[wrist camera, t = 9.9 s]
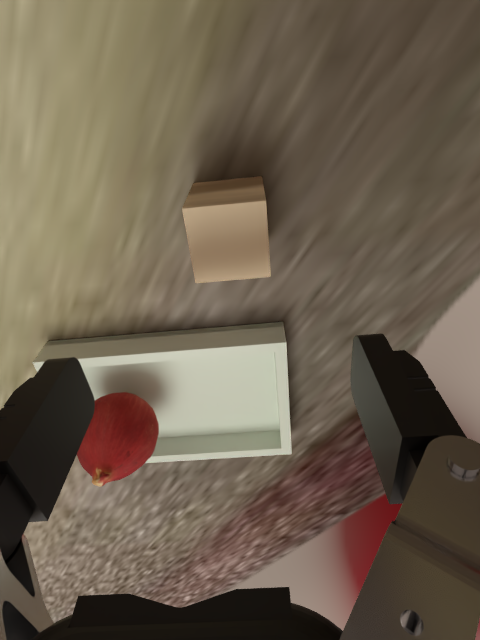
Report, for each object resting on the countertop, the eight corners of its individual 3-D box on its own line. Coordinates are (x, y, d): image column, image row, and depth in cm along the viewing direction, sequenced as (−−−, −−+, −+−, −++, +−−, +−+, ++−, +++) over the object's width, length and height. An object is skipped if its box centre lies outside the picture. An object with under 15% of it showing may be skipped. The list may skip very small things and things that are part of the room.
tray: (47, 341, 29) (32, 362, 27) (282, 321, 28) (286, 342, 25) (95, 442, 35) (86, 466, 33) (288, 430, 34) (291, 454, 32)
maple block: (193, 182, 22) (181, 208, 18) (261, 175, 22) (265, 200, 18) (203, 246, 25) (195, 283, 20) (266, 241, 24) (270, 276, 20)
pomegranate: (172, 420, 32) (153, 511, 26) (105, 423, 33) (69, 514, 26) (158, 367, 29) (133, 455, 22) (85, 371, 29) (38, 459, 23)
